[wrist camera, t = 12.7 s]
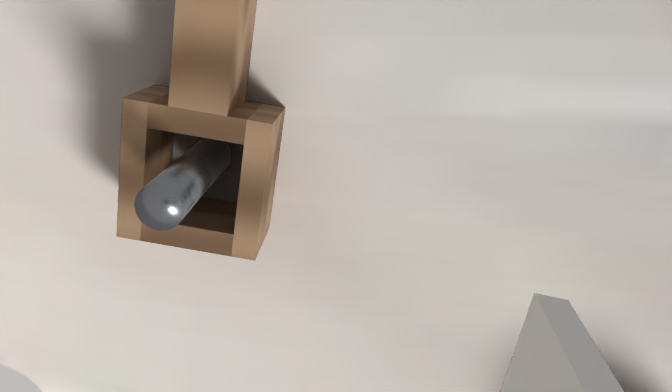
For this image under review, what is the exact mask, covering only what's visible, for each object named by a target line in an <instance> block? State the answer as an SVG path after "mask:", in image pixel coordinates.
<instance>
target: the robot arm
mask: <svg viewBox="0 0 672 392" xmlns="http://www.w3.org/2000/svg"><path fill="white" fill-rule="evenodd" d="M500 392H624V391H623V389H622V388H621V386H620V384H619V383H618V381H617V379H616V378H615V376H614V374H613V373H612V371H611V369H610V368H609V366H608V364H607V363H606V361H605V360H604V358H603V356H602V355H601V353H600V351H599V350H598V348H597V346H596V345H595V343H594V341H593V340H592V338H591V337H590V335H589V333H588V332H587V330H586V328H585V327H584V325H583V323H582V322H581V320H580V318H579V317H578V315H577V314H576V312H575V310H574V309H573V307H572V305H571V304H570V302H569V300H565V299H560V298H556V297H551V296H546V295H541V294H536V293H534V295H533V298H532V301H531V304H530V307H529V310H528V313H527V316H526V319H525V321H524V324H523V327H522V330H521V333H520V336H519V339H518V342H517V345H516V348H515V350H514V353H513V356H512V359H511V362H510V365H509V368H508V371H507V374H506V377H505V379H504V382H503V385H502V388H501V391H500Z"/></svg>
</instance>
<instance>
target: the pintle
mask: <svg viewBox="0 0 672 392" xmlns="http://www.w3.org/2000/svg"><path fill="white" fill-rule="evenodd" d="M230 160H231V151H230V148H229V146H228V145H227V143H226V142H225V141H220V140H214V139H209V138H202V139H200V140H199V141H198V142H197V143H196V144H194V145H193V146H192V147H191V148H190V149H188V150H187V151H186V152H185V153H184V154H183V155H181V156H180V157H179V158H178V159H177V160H175V161H174V162H173V163H172V164H171V165H169V166H168V167H167V168H166V169H165V170H163V171H162V172H161V173H160V174H159V175H157V176H156V177H155V178H154V179H153V180H152V181H150V182H149V183H148V184H147V185H146V186H144V187H143V188H142V189H141V190H140V191H139V192H138V193H137V195H136V197H135V202H134V207H135V212H136V214H137V216H138V218H139V219H140V221H141V222H142V223H143V224H144V225H146V226H147V227H149V228H151V229H153V230H157V231H167V230H170V229H173V228H174V227H176V226H177V225H178V224H179V223H180V222H181V220H182V219H183V218H184V217H185V216H186V215H187V213H188V212H189V211H190V210H191V209H192V207H193V206H194V205H195V204H196V203H197V202H198V200H199V199H200V198H201V197H202V196H203V194H204V193H205V192H206V191H207V190H208V189H209V187H210V186H211V185H212V184H213V183H214V181H215V180H216V179H217V178H218V177H219V176H220V174H221V173H222V172H223V171H224V170H225V168H226V167H227V166H228V165H229V163H230Z"/></svg>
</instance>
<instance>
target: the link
mask: <svg viewBox="0 0 672 392" xmlns="http://www.w3.org/2000/svg"><path fill="white" fill-rule="evenodd" d="M256 3H257V0H175V13H174V27H173V42H172V57H171V71H170V86H169V87H165V86H159V85H153V86H151V87H148V88H146V89H143V90H141V91H139V92H136V93H134V94H131V95H129V96H126V97H124V98H122V119H121V143H120V167H119V191H118V215H117V237H123V238H128V239H134V240H140V241H146V242H151V243H157V244H163V245H169V246H175V247H180V248H186V249H192V250H198V251H203V252H209V253H215V254H221V255H226V256H232V257H238V258H244V259H250V260H255V259H256V257H257V254H258V252H259V250H260V248H261V245H262V243H263V241H264V238H265V236H266V234H267V232H268V229H269V224H270V217H271V210H272V202H273V195H274V187H275V180H276V173H277V165H278V158H279V151H280V143H281V136H282V128H283V121H284V114H285V107H280V106H274V105H268V104H263V103H257V102H251V101H246V92H247V83H248V74H249V65H250V56H251V47H252V38H253V30H254V21H255V12H256ZM174 133H180V134H185V135H191V136H197V137H203V138H209V139H214V140H220V141H226V142H232V143H237V144H243V145H244V149H243V158H242V166H241V175H240V184H239V193H238V201H237V203H235V202H229V201H223V200H218V199H212V198H206V197H201V198H200V199H199V200H198V202H197V203H196V204H195V205H194V206H193V207H192V209H191V210H190V211H189V212H188V213H187V215H186V216H185V217H184V218H183V219H182V220H181V222H180V223H179V224H178V225H177V226H176V227H174V228H173V229H170V230H167V231H157V230H153V229H151V228H149V227H147V226H146V225H144V224H143V223H142V222H141V221H140V219H139V218H138V216H137V214H136V212H135V207H134V202H135V197H136V195H137V193H138V192H139V191H140V190H141V189H142V188H143V187H144V186H146V185H147V184H148V183H149V182H150V181H152V180H153V179H154V178H155V177H156V176H157V175H159V174H160V173H161V172H162V171H163V170H165V169H166V168H167V167H168V166H169V165H171V164H172V153H173V139H174Z"/></svg>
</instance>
